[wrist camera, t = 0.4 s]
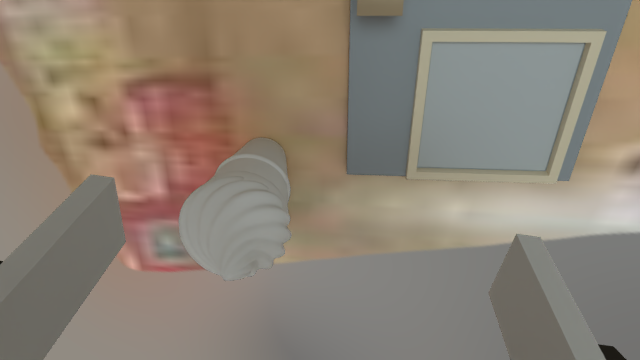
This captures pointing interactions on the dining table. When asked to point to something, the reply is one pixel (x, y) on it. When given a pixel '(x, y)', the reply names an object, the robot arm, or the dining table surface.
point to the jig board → (477, 87)
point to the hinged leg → (380, 7)
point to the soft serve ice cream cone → (240, 213)
